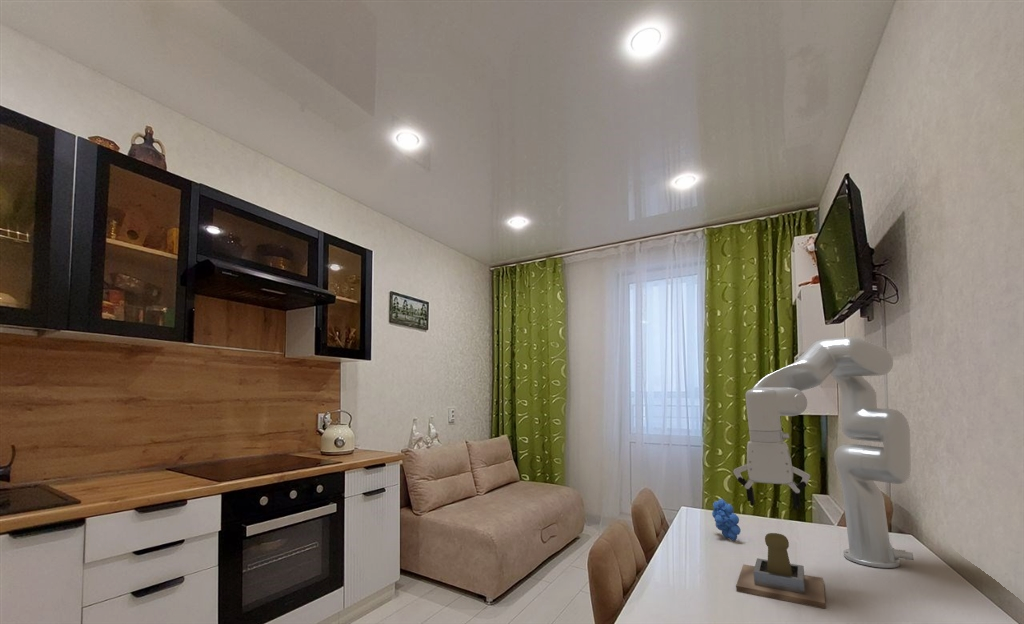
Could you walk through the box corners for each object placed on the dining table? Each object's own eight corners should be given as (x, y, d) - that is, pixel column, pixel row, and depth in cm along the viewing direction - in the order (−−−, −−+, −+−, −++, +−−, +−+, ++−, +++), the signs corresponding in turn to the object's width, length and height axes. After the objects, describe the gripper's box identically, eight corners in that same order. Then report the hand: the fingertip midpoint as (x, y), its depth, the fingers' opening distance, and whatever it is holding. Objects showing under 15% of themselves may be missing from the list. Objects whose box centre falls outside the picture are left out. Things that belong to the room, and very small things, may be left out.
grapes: (704, 534, 155) (701, 496, 157) (721, 532, 156) (718, 495, 158) (729, 545, 143) (725, 505, 145) (746, 543, 145) (743, 503, 147)
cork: (794, 588, 110) (789, 539, 111) (766, 583, 113) (761, 535, 115) (795, 579, 115) (790, 532, 116) (767, 574, 118) (763, 529, 120)
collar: (804, 578, 115) (803, 565, 116) (804, 594, 107) (803, 580, 107) (758, 570, 121) (757, 558, 121) (754, 584, 112) (753, 571, 113)
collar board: (823, 583, 115) (822, 577, 116) (825, 608, 102) (825, 603, 102) (743, 569, 125) (743, 564, 125) (736, 591, 111) (735, 585, 112)
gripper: (805, 436, 118) (814, 506, 115) (731, 434, 127) (738, 499, 124) (805, 440, 112) (814, 514, 109) (727, 437, 121) (734, 506, 118)
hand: (773, 506), depth 117 cm, fingers open, 9 cm apart
